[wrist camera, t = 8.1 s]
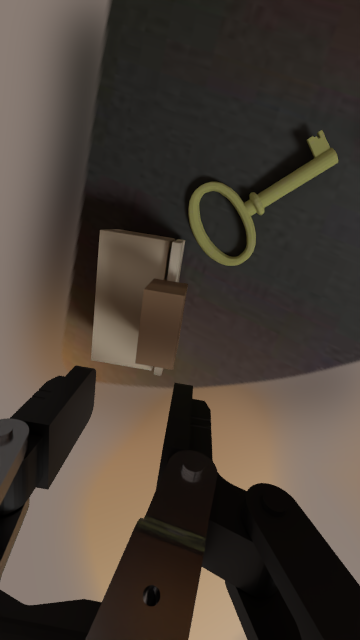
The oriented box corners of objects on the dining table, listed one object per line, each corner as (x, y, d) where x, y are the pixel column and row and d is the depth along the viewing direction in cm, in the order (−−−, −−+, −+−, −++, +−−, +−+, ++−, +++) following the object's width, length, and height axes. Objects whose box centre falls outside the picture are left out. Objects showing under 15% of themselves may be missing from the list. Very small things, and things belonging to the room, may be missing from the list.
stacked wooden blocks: (134, 232, 26) (99, 234, 17) (195, 242, 26) (192, 249, 17) (122, 342, 29) (88, 391, 21) (177, 352, 29) (166, 405, 20)
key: (336, 158, 24) (348, 152, 22) (231, 275, 28) (233, 279, 25) (271, 93, 23) (278, 80, 21) (170, 222, 27) (167, 221, 25)
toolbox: (118, 229, 27) (99, 229, 22) (175, 238, 26) (169, 241, 22) (109, 338, 30) (91, 360, 25) (159, 347, 30) (151, 370, 25)
